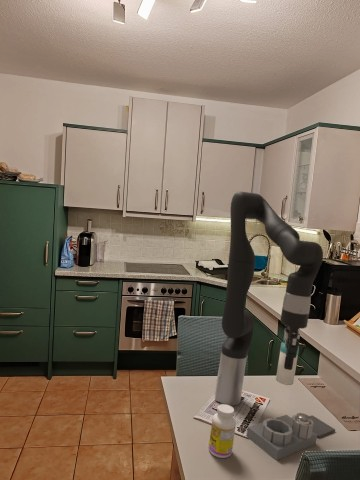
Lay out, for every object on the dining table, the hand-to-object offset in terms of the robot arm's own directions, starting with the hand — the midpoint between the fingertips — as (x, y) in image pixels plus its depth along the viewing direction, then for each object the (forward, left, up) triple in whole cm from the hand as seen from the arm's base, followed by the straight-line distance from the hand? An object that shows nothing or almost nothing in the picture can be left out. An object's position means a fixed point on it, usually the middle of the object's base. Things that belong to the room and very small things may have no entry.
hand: (286, 365), depth 110 cm
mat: (+15, +14, -25) cm, 33 cm away
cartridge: (0, 0, -5) cm, 5 cm away
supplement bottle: (-17, -8, -25) cm, 31 cm away
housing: (+2, +3, -25) cm, 25 cm away
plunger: (+8, +4, -22) cm, 24 cm away
